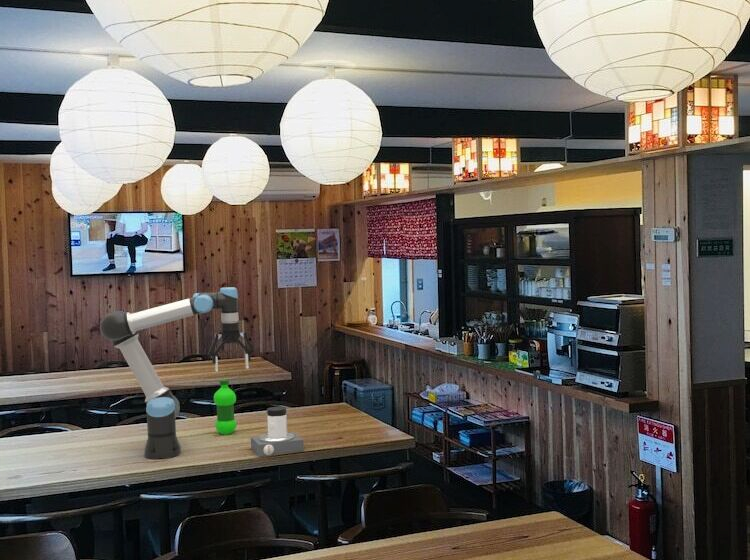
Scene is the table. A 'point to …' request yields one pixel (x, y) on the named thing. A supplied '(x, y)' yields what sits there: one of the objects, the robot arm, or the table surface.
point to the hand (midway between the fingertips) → (231, 369)
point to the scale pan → (265, 438)
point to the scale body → (276, 446)
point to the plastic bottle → (225, 408)
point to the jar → (277, 422)
